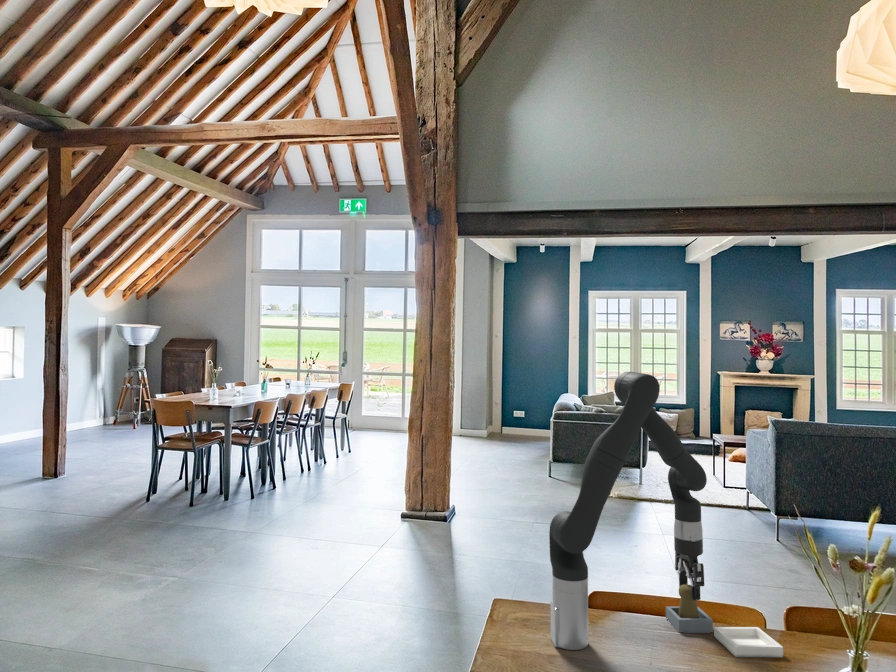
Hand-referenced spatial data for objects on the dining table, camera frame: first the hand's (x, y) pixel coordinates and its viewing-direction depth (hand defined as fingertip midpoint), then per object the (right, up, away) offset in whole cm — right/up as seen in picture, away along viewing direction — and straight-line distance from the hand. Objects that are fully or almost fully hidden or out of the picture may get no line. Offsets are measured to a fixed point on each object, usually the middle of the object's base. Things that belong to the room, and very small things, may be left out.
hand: (689, 594), depth 173 cm
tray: (+10, -8, -13) cm, 18 cm away
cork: (0, -9, 0) cm, 9 cm away
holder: (0, -9, 0) cm, 9 cm away
